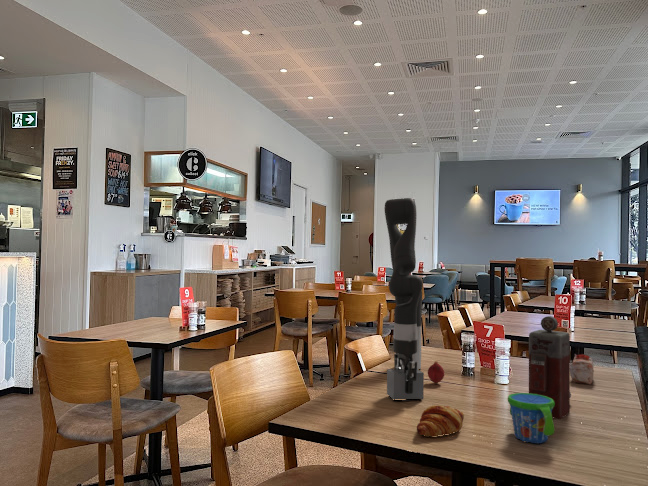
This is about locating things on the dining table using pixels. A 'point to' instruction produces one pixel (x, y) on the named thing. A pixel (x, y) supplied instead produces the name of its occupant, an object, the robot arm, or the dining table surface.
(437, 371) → the onion
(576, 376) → the food item
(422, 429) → the croissant
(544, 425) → the snack cup
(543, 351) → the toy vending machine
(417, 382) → the grey rectangular box
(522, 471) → the dining table surface
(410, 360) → the robot arm
